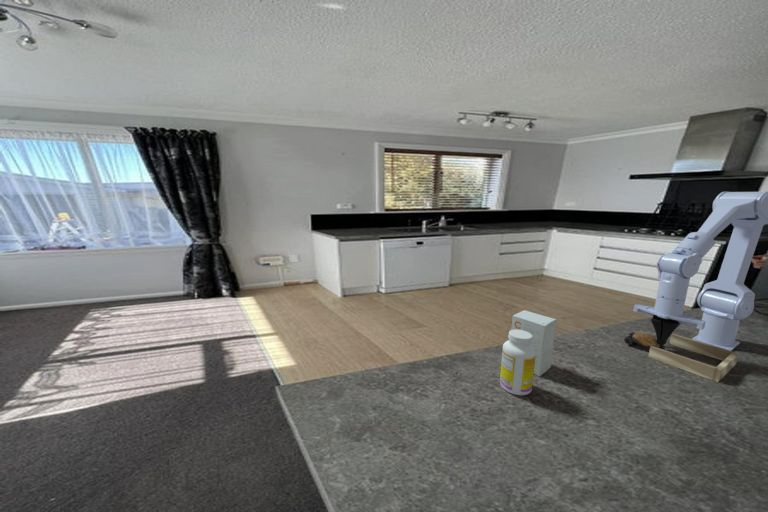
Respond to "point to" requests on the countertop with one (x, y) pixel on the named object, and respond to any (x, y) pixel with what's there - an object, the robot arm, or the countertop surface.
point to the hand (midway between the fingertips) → (661, 343)
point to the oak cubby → (693, 365)
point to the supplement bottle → (518, 363)
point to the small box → (538, 337)
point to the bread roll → (642, 341)
